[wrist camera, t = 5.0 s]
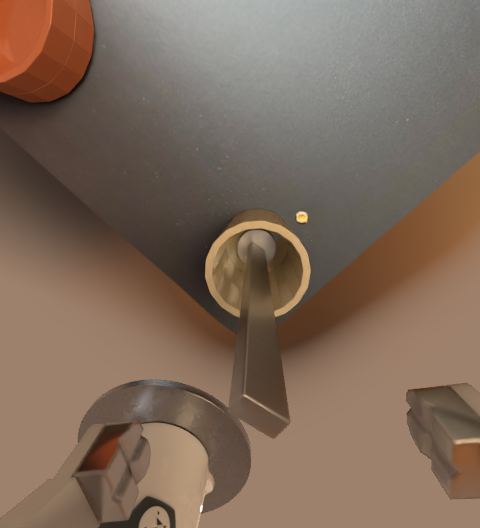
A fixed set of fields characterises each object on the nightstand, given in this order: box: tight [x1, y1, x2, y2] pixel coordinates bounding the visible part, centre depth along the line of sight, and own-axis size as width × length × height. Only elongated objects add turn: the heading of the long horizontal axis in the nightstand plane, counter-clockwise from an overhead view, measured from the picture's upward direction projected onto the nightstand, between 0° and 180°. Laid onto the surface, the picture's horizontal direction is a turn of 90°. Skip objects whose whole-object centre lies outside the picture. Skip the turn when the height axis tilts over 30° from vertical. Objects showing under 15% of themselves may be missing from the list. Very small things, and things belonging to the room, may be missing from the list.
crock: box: [205, 209, 311, 317], centre depth 26 cm, size 8×8×11 cm
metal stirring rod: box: [228, 228, 290, 439], centre depth 19 cm, size 4×4×24 cm
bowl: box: [0, 0, 94, 103], centre depth 23 cm, size 14×14×6 cm
